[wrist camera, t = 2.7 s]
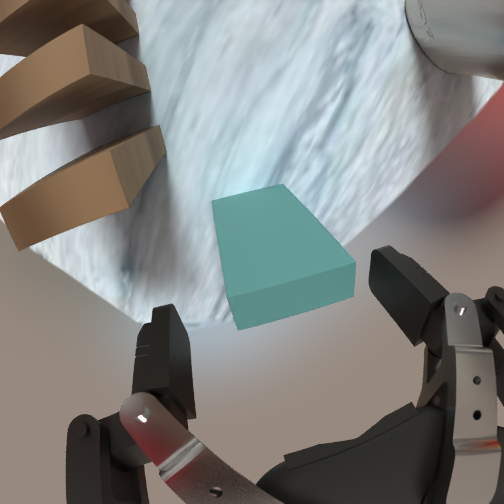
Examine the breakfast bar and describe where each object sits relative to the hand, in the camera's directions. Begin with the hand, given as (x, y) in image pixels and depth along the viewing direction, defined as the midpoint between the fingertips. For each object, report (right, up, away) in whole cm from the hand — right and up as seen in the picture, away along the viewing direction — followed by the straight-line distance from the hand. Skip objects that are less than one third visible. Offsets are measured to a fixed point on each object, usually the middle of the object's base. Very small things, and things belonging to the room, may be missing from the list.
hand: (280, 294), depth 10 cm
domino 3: (-9, +8, +5) cm, 13 cm away
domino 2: (-10, +12, +3) cm, 15 cm away
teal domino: (-1, +5, +8) cm, 10 cm away
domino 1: (-11, +15, 0) cm, 18 cm away
